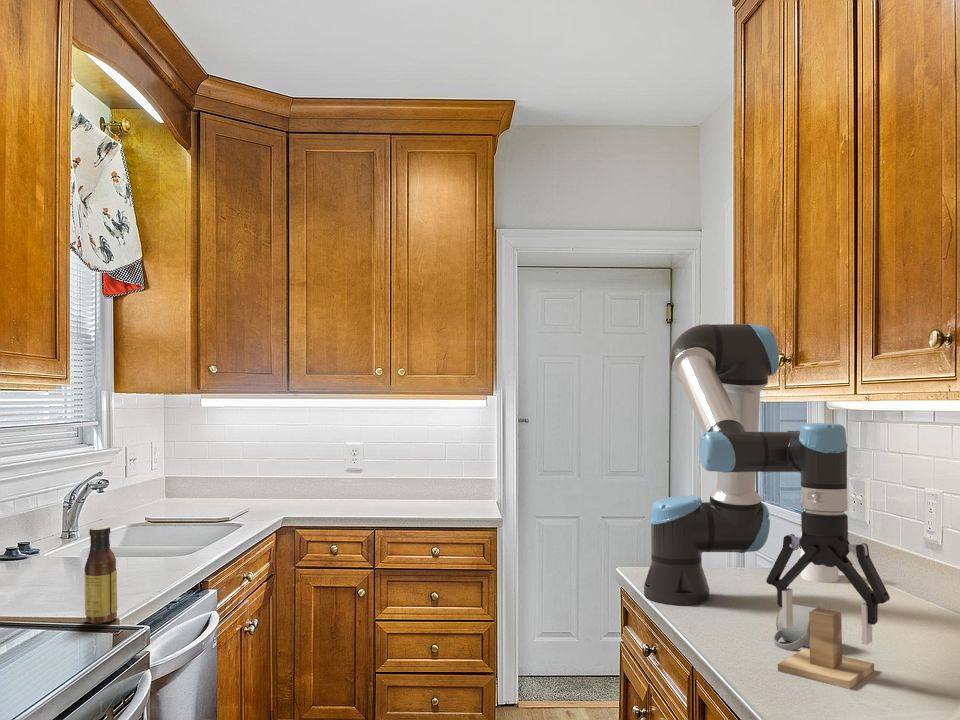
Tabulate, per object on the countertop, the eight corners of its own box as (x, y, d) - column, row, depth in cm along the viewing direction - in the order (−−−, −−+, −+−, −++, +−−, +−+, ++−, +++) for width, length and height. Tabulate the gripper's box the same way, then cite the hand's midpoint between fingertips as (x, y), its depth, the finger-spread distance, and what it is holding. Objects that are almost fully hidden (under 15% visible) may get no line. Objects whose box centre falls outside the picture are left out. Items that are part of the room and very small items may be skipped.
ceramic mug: (797, 636, 162) (796, 597, 162) (834, 647, 155) (833, 606, 155) (762, 646, 156) (761, 606, 156) (799, 658, 149) (798, 616, 150)
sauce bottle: (105, 614, 176) (106, 523, 177) (123, 619, 173) (124, 525, 174) (77, 622, 171) (78, 527, 171) (95, 627, 168) (96, 530, 168)
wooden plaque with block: (805, 654, 150) (804, 598, 150) (874, 670, 141) (873, 611, 142) (777, 670, 141) (777, 611, 141) (849, 688, 133) (848, 626, 133)
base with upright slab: (845, 579, 209) (844, 532, 209) (826, 584, 204) (825, 536, 204) (813, 572, 216) (812, 527, 217) (793, 577, 211) (793, 531, 211)
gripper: (746, 506, 148) (748, 624, 147) (893, 522, 130) (896, 655, 130) (764, 502, 153) (766, 616, 152) (908, 516, 136) (910, 644, 135)
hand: (826, 634), depth 141 cm, fingers open, 13 cm apart
